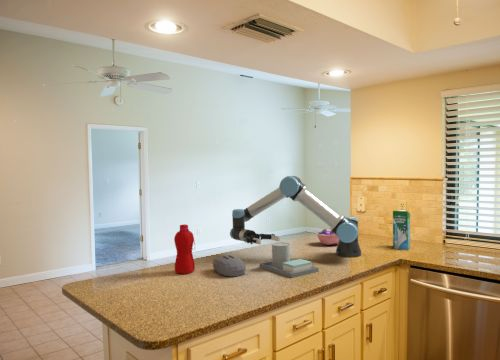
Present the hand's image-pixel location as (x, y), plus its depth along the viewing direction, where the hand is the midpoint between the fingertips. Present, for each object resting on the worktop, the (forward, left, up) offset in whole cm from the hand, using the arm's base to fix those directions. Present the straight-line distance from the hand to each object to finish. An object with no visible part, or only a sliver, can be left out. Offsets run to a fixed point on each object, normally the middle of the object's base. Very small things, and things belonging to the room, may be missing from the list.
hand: (270, 240), depth 214 cm
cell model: (-20, -64, -13) cm, 68 cm away
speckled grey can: (-10, +9, -12) cm, 18 cm away
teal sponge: (-21, +16, -12) cm, 29 cm away
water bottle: (+34, +33, -13) cm, 50 cm away
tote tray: (-15, +12, -13) cm, 23 cm away
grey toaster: (+13, +25, -13) cm, 31 cm away
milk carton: (-66, -69, -13) cm, 96 cm away
